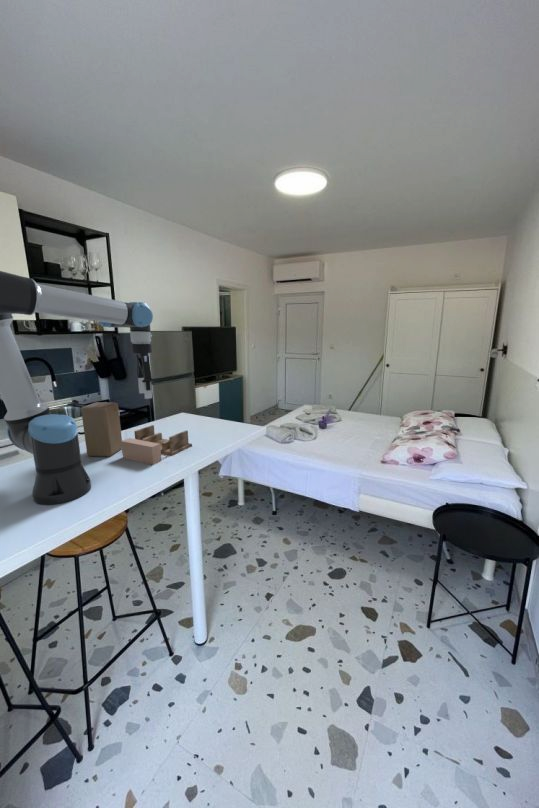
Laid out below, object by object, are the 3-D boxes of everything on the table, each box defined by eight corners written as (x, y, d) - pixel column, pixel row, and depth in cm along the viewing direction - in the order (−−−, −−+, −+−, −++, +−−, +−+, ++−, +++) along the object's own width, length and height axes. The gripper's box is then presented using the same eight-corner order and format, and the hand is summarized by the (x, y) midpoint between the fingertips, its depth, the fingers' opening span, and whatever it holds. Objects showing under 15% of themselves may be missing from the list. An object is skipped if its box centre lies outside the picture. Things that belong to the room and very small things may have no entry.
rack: (172, 455, 131) (171, 438, 129) (132, 447, 140) (130, 431, 139) (192, 446, 141) (191, 430, 140) (153, 439, 151) (152, 424, 149)
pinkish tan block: (153, 465, 122) (152, 447, 121) (122, 458, 129) (121, 441, 127) (161, 461, 126) (160, 443, 124) (131, 454, 133) (129, 438, 131)
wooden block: (123, 448, 139) (118, 402, 135) (110, 457, 129) (104, 407, 125) (101, 447, 140) (95, 401, 136) (86, 456, 130) (79, 407, 126)
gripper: (157, 343, 123) (161, 399, 127) (145, 342, 144) (149, 390, 149) (136, 344, 119) (140, 401, 124) (127, 342, 141) (131, 391, 145)
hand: (145, 395), depth 136 cm, fingers open, 13 cm apart
